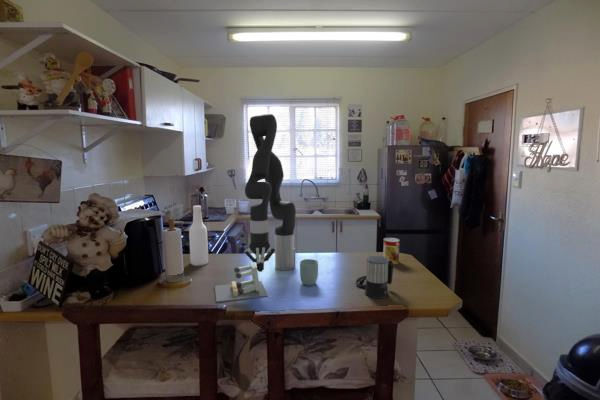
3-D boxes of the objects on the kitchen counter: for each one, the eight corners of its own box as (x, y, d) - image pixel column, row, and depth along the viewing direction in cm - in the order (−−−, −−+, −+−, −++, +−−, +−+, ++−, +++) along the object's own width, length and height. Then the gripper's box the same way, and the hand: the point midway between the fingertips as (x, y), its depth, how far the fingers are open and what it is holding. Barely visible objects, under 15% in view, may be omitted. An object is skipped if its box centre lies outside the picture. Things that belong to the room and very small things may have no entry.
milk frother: (383, 301, 135) (384, 264, 133) (346, 292, 143) (347, 257, 141) (394, 288, 147) (396, 254, 145) (360, 281, 155) (360, 249, 153)
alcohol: (195, 260, 184) (192, 204, 180) (210, 261, 183) (208, 204, 178) (187, 265, 175) (184, 207, 171) (204, 266, 174) (201, 207, 170)
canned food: (400, 264, 178) (401, 241, 176) (384, 264, 178) (385, 241, 176) (396, 259, 185) (397, 237, 184) (381, 259, 186) (382, 237, 184)
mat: (261, 282, 154) (261, 276, 153) (267, 296, 139) (267, 290, 138) (214, 286, 148) (214, 280, 148) (216, 302, 133) (216, 295, 133)
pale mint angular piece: (256, 282, 150) (253, 262, 148) (260, 290, 141) (257, 269, 139) (236, 286, 147) (233, 266, 146) (238, 295, 139) (235, 274, 137)
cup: (319, 281, 154) (320, 260, 153) (314, 288, 147) (315, 265, 145) (303, 279, 157) (303, 258, 155) (297, 286, 149) (297, 263, 148)
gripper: (273, 227, 147) (273, 266, 150) (241, 229, 144) (243, 269, 146) (277, 231, 140) (277, 272, 143) (244, 233, 137) (245, 275, 139)
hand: (260, 271), depth 144 cm, fingers closed
